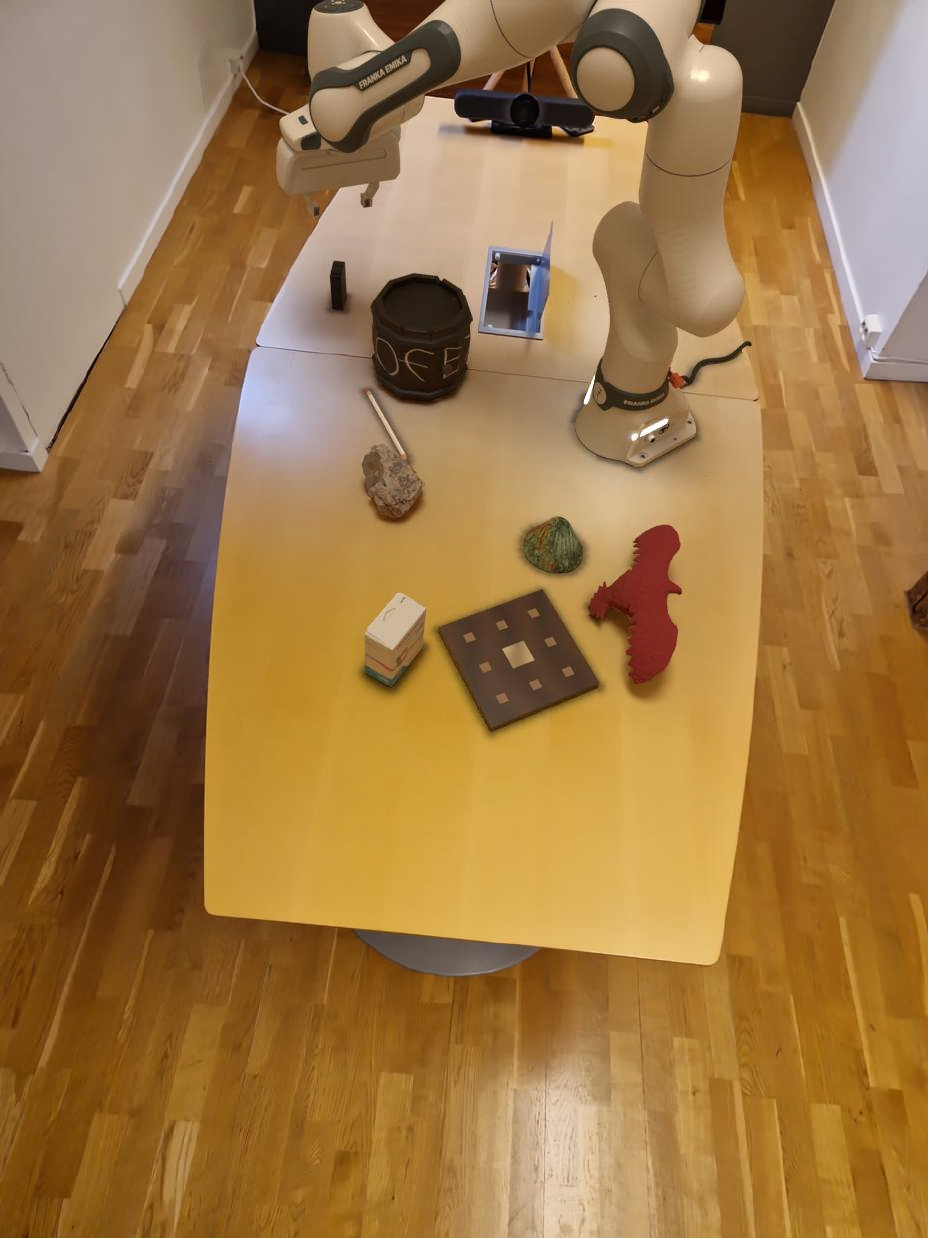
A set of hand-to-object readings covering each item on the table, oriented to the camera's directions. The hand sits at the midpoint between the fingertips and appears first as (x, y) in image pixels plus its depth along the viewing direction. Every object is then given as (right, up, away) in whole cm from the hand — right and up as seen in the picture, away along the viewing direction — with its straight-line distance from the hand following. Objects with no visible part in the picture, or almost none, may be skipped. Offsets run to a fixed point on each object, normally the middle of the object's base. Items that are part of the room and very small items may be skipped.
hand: (340, 209), depth 136 cm
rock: (+8, -49, 0) cm, 50 cm away
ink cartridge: (-4, -6, +25) cm, 26 cm away
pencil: (+7, -34, +9) cm, 36 cm away
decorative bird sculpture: (+46, -68, -8) cm, 83 cm away
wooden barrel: (+13, -23, +16) cm, 31 cm away
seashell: (+35, -57, -2) cm, 67 cm away
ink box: (+10, -75, -15) cm, 77 cm away
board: (+29, -74, -14) cm, 81 cm away
